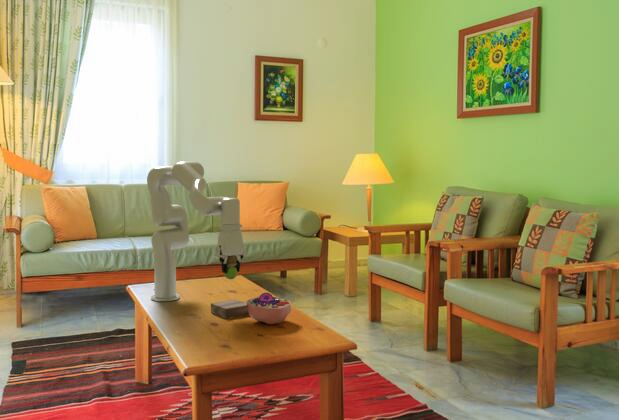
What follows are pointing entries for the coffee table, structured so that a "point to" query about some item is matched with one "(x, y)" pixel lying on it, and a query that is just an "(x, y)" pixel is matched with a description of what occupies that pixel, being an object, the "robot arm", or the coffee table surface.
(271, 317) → the cell model
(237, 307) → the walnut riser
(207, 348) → the coffee table surface
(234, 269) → the snail figurine
